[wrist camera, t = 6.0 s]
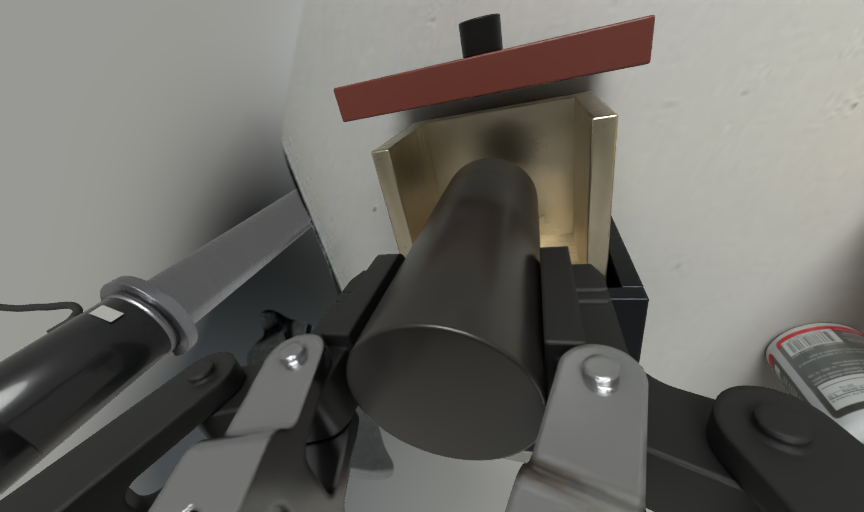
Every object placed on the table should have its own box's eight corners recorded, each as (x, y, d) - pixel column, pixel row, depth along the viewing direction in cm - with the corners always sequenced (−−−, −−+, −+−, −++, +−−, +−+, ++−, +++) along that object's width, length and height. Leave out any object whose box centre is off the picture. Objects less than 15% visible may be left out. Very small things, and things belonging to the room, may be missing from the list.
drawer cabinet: (423, 221, 23) (376, 298, 16) (608, 207, 20) (649, 298, 13) (451, 341, 29) (425, 437, 22) (598, 348, 25) (624, 465, 18)
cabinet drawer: (388, 48, 17) (320, 51, 12) (611, -9, 14) (662, -42, 9) (432, 243, 23) (400, 307, 18) (598, 234, 20) (623, 309, 14)
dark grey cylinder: (453, 244, 16) (375, 448, 8) (438, 163, 14) (315, 323, 6) (539, 240, 15) (551, 474, 7) (535, 150, 13) (546, 328, 5)
